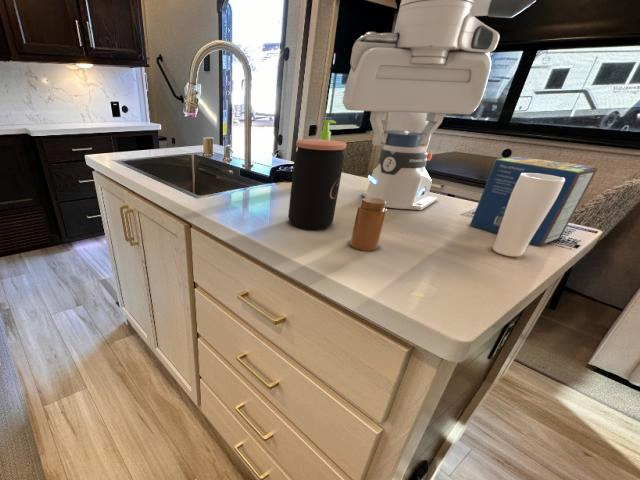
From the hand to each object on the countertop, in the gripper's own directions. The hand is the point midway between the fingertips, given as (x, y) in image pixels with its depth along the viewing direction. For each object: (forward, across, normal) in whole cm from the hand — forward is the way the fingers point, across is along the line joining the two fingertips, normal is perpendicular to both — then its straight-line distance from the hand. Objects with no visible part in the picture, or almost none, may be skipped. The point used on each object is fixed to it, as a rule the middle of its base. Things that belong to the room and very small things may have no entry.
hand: (399, 145), depth 53 cm
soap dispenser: (+20, +11, +62) cm, 67 cm away
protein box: (+20, +43, +14) cm, 49 cm away
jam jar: (+20, +2, +8) cm, 22 cm away
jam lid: (-2, 0, 0) cm, 2 cm away
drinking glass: (+20, +31, +2) cm, 37 cm away
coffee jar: (+20, -5, +22) cm, 30 cm away
